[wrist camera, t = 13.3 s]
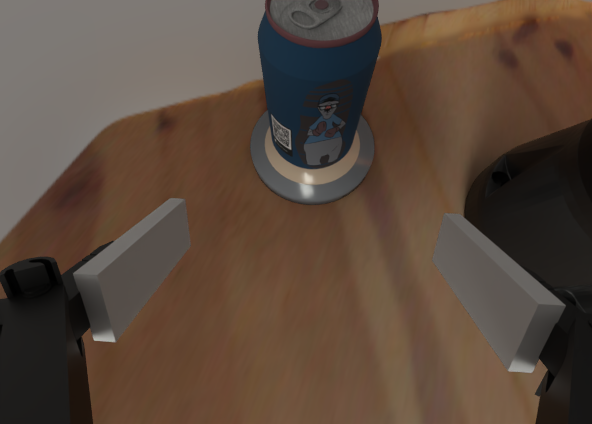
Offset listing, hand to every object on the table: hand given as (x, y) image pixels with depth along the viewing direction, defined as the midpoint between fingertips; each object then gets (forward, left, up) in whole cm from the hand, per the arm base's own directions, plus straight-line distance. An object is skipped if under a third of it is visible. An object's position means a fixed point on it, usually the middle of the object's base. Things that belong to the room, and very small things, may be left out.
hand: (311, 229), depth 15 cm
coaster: (-3, -10, -9) cm, 14 cm away
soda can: (-3, -10, -8) cm, 13 cm away
